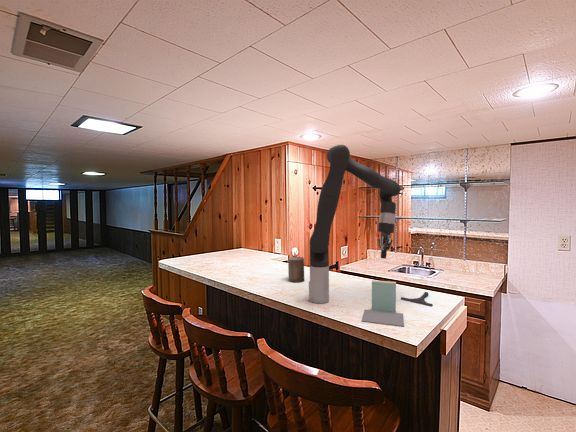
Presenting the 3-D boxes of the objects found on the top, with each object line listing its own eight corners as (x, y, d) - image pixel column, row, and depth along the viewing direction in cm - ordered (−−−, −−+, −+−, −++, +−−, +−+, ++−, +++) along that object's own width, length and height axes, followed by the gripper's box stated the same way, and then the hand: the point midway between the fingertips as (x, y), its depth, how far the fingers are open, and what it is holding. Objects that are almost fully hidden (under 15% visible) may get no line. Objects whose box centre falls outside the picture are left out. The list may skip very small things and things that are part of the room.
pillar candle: (307, 281, 181) (306, 256, 180) (292, 283, 177) (292, 258, 176) (299, 277, 190) (299, 254, 189) (285, 279, 185) (285, 255, 185)
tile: (371, 310, 133) (371, 281, 132) (372, 308, 135) (372, 280, 135) (395, 313, 130) (395, 283, 129) (395, 311, 132) (395, 281, 131)
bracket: (442, 300, 147) (442, 294, 147) (431, 308, 137) (431, 302, 137) (412, 293, 157) (412, 288, 157) (400, 300, 147) (400, 295, 147)
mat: (361, 321, 121) (361, 320, 121) (364, 310, 133) (364, 309, 133) (404, 326, 116) (404, 325, 116) (403, 314, 128) (403, 313, 128)
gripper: (374, 222, 153) (371, 256, 152) (384, 221, 140) (380, 258, 139) (388, 224, 154) (385, 258, 152) (400, 223, 140) (396, 260, 139)
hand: (383, 258), depth 145 cm, fingers closed
